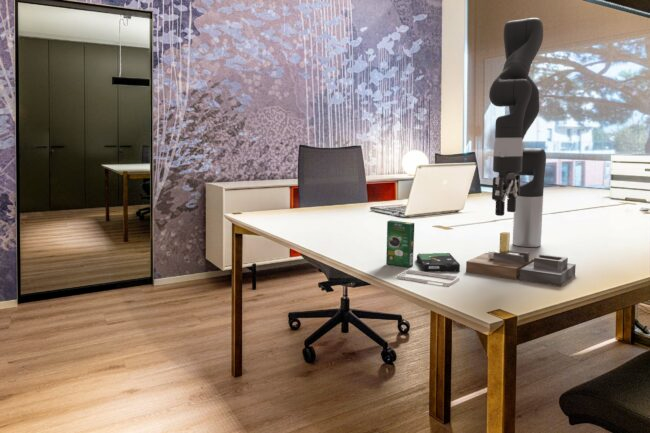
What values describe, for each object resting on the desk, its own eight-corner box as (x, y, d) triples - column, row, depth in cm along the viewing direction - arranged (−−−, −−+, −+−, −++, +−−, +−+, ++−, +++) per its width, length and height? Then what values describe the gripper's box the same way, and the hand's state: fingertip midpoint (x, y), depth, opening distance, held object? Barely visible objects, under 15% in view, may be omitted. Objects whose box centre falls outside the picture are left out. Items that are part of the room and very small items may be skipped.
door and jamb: (485, 262, 158) (486, 244, 158) (575, 275, 143) (576, 255, 142) (466, 271, 148) (466, 252, 147) (560, 286, 132) (561, 265, 131)
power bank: (459, 281, 140) (408, 274, 148) (459, 276, 140) (408, 269, 148) (449, 288, 134) (396, 280, 142) (449, 283, 134) (396, 275, 142)
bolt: (491, 256, 151) (492, 230, 150) (519, 260, 146) (520, 233, 145) (488, 258, 149) (489, 232, 148) (516, 262, 144) (517, 235, 143)
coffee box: (414, 265, 155) (415, 222, 153) (410, 267, 153) (410, 223, 151) (390, 262, 160) (390, 219, 158) (385, 264, 158) (386, 221, 156)
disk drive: (460, 274, 148) (449, 261, 163) (460, 264, 148) (449, 252, 162) (423, 274, 148) (415, 261, 163) (423, 264, 148) (415, 252, 163)
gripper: (504, 154, 151) (501, 210, 153) (484, 155, 140) (482, 215, 143) (530, 154, 146) (528, 212, 149) (512, 155, 136) (509, 217, 138)
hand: (505, 213), depth 146 cm, fingers open, 8 cm apart
